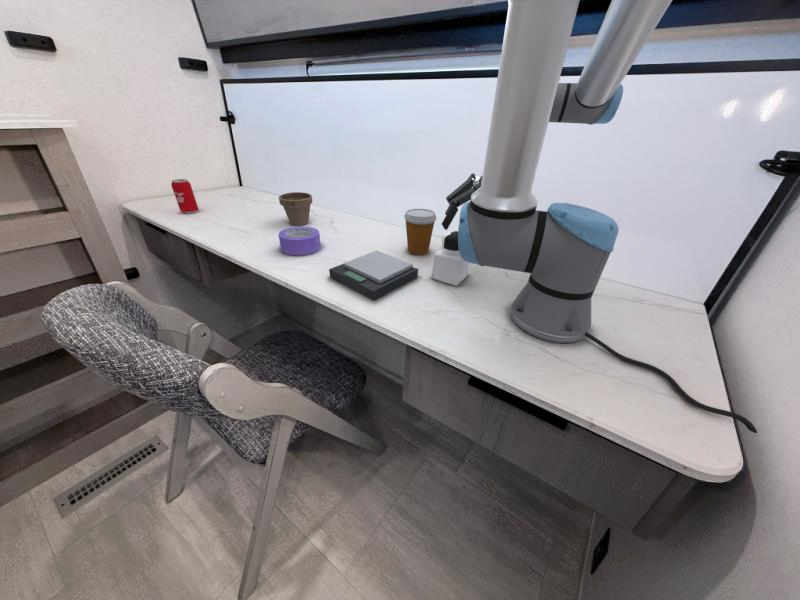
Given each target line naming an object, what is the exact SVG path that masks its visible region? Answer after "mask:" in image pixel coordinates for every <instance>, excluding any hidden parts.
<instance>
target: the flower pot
mask: <svg viewBox="0 0 800 600" xmlns="http://www.w3.org/2000/svg"><path fill="white" fill-rule="evenodd" d="M278 202H279V205H280V206H281V207H283V210H284V212H285V214H286V216H287V219H288V222H289V224H290V225H291V226H294V227H299V226H305V225H307V224H309V222H310V211H311V204H313V195H312V194H311V193H307V192H301V191H300V192H299V191H296V192H295V191H293V192H286V193H282V194H280V195H279V196H278Z"/></svg>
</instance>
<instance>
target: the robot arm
mask: <svg viewBox="0 0 800 600" xmlns="http://www.w3.org/2000/svg"><path fill="white" fill-rule="evenodd" d="M580 1H581V0H507V2H508V7H507V14H506V21H505V26H504V27H505V28H504V34H503V39H502V47H501V48H502V49H501V53H500V59H499V66H498V71H497V72H498V73H497V78H496V85H495V93H494V99H493V106H492V112H491V118H490V120H491V121H490V126H489V132H488V138H487V146H486V152H485V157H484V165H483V171H482V175H480V176H477V175H476V173H474V172H473V173H471V174H470V175H469V176H468V178H467V179H466V180H465V181H464V182H463V183H461V184H460V185H459V186H458V187H456V188H455V189H454V190H453V191H452V192H451V193H450V194H448V195H447V196H446V197H445V199H446V202H447V203H448V207H447V209H446V210H445V212H444V214H445V217H444V219H443V220H442V221H441V226H442V228H443V229H444V230H446V231H448V229H449V227H450V226H451V223H452V222H453V220H454V218H455V217H456V215H457V213H458V211H459V207H461V209H460V212H459V220H458V221H459V223H458V227H457V231H458V247H459V253H460V256H461V257H462V259H463V260H464V261H466V262H469V264H475V265H478V266H480V267H488V268H489V267H490V268H496V269H500V270H501V269H502V270H507V271H513V272H519V273H520V272H521V273H526V274H529V278H528V280H527V282H526V284H525V285H524V286H523V287H522V289H521V291H520V292H519V293H518V294H517V296H516V298H514V300H513V301H512V304H511V308H510V311H509V313H510V318H511V320H512V321H513V323H514V324H515V325H516V327H518V328H520V329H521V330H522V331H524V332H525V333H527V334H529V335H530V336H533V337H535V338H538V339H540V340H544V341H547V342H552V343H558V344H572V343H574V344H575V343H578V342H581V341H582V340H584V339H585V338H587V339H589V340H591V341H593V342H594V343H596V344H597V345H599V346H600V347H601V348H602V349H604V350H606V351H607V352H608V353H609V354H611V355H613V356H614V357H616V358H618V359H619V360H621V361H624V362H625V363H629V364H633V365H635V366H639V367H642V368H645V369H648V370H650V371H653V372H655V373H656V374H658V375H659V376H661V377H662V378H664V379H665V380H666V381H667V382H668V383H669V384H670V385H671V387H673V389H674V390H675V391H676V393H678V394H679V396H681V397H682V398H683V399H684V400H685V401H686V402H688V403H690V404H691V405H693V406H694V407H696V408H698V409H701V410H703V411H706V412H709V413H713V414H716V415H720V416H724V417H728V418H731V419H734V420H737V421H739V422H740V423H742V424H743V425H744V426H745V427H746V428H747V430H749V432H751V433H753V434H758V431H757V430H758V429H757V428H756V427H755V426H754V424H753V423H752V422H751V421H750V420H749V419H748V418H746V417H745V416H744V415H743V416H742V415H741V414H739V413H738V414H737V413H736V412H733V411H730V410H725V409H722V408H721V409H720V408H717V407H713V406H710V405H706V404H703V403H701V402H700V401H697V400H696V399H695V398H693V397H692V396H690V395H689V394H687V392H686V391H684V390H683V388H682V387H681V386H680V385H679V384H678V382H677V381H676V380H675V379H674V378H673V377H672V376H671V375H669V374H668V373H667V372H665V371H664V370H662V369H660V368H659V367H657V366H655V365H652V364H649V363H646V362H643V361H639V360H636V359H633V358H630V357H627V356H625V355H622V354H621V353H619V352H617V351H616V350H615V349H613V348H612V347H610V346H609V345H607V344H606V343H605V342H603V341H602V340H600V339H599V338H597V337H595V336H594V335H592V334H591V333H589V332H590V329H591V327H592V298H593V295H594V293H595V290H596V288H597V286H598V283H599V281H600V279H601V276H602V274H603V272H604V269H605V267H606V266H607V265H606V264H607V263H608V260H609V257H610V255H611V253H612V252H614V247H615V244H616V241H617V237H618V234H619V229H620V228H619V225H618V222H617V221H616V220H615V219H613V218H612V217H610V216H609V215H607V214H605V213H603V212H600V211H598V210H595V209H592V208H589V207H586V206H582V205H579V204H574V203H568V202H553V203H551V204H550V205H549V207H547V211H545V210H539V209H538V210H537V207H538V202H539V201H538V199H537V197H536V196H535V195H534V194H533V191H532V189H533V186H534V182H535V178H536V174H537V169H538V165H539V162H540V158H541V153H542V150H543V147H544V142H545V139H546V138H545V137H546V135H547V130H548V126H549V123H558V124H559V123H561V124H562V123H563V124H581V125H583V124H584V125H589V126H590V125H591V126H592V125H604V124H605V125H606V124H609V123H610V122H611V121H613V120H614V117H615V116H616V113H617V111H619V107H620V106H621V105H620V104H621V102H622V99H623V94H624V86H623V84H622V82H623V81H624V79H625V77H626V76H627V74H628V73H629V71H630V69H631V67H632V66H633V65H634V63H635V61H636V59H637V58H638V56H639V55H640V53H641V52H642V51H643V48H644V47H645V46H646V44H647V42H648V41H649V39H650V37H651V35H652V34H653V32H654V31H655V29H656V27H657V26H658V24H659V23H660V21H661V19H662V18H663V17H664V14H666V11H667V10H668V8H669V7H670V5H671V3H672V2H673V0H611V1H610V4H609V6H608V9H607V11H606V13H605V15H604V18H603V21H602V23H601V25H600V28H599V30H598V33H597V35H596V37H595V40H594V42H593V45H592V47H591V49H590V52H589V55H588V57H587V59H586V61H585V64H584V67H583V69H582V70H581V71H582V72H581V73H580V76H579V78H578V81H577V82H560V79H561V74H562V71H563V67H564V63H565V61H566V60H565V59H566V56H567V51H568V48H569V43H570V40H571V36H572V33H573V27H574V24H575V20H576V17H577V12H578V8H579V4H580Z"/></svg>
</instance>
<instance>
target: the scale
mask: <svg viewBox="0 0 800 600" xmlns="http://www.w3.org/2000/svg"><path fill="white" fill-rule="evenodd" d="M328 272H329V278H330V279H331V280H334V281H335V282H337V283H339V284H341V285H343V286H344V287H347V288H349V289H351V290H352V291H354V292H355V293H358V294H359V295H362V296H364V297H365V298H367V299H369V300H371V301H373V302H374V301H377V300H378V299H380V298H382V297H384V296H386V295H388V294H389V293H392V292H393V291H395V290H397V289H399V288H401V287H402V286H405V285H406V284H408V283H410V282H413V281H414V280H416V279H418V278H419V268H416V267H414V266H413V263H410V262H408V261H405V260H402V259H400V258H398V257H395V256H392V255H390V254H388V253H385V252H382V251H379V250H374V251H372V252H369V253H366V254H364V255H360V256H359V257H356V258H353V259H351V260H349V261H346V262H343V263H341V264H339V265H337V266H333V267H331V268H329V269H328Z"/></svg>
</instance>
